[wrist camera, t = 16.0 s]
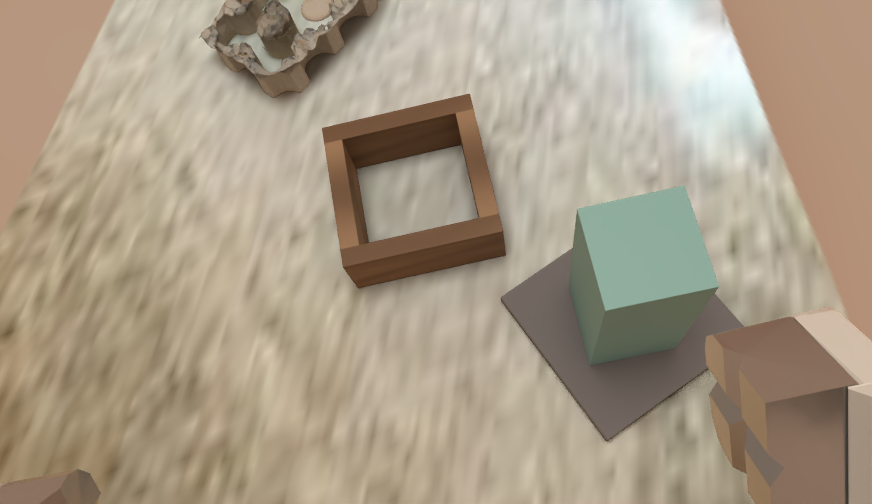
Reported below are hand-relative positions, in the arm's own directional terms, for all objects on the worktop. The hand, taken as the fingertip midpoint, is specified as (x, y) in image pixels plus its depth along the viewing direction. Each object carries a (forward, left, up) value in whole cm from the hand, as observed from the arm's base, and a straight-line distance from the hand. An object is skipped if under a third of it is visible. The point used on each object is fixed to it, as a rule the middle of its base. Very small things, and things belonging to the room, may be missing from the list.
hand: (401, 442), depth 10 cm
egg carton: (+32, -7, -30) cm, 44 cm away
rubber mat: (+4, -11, -29) cm, 32 cm away
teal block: (+4, -11, -29) cm, 31 cm away
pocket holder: (+16, -6, -29) cm, 34 cm away
